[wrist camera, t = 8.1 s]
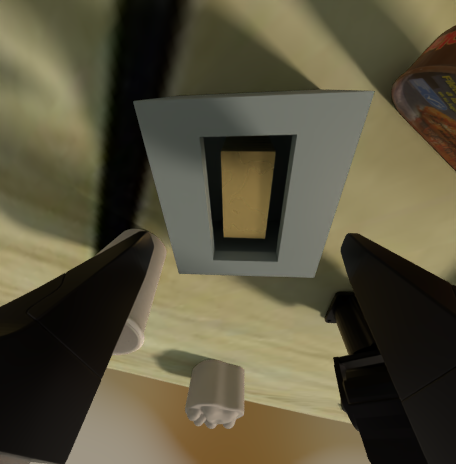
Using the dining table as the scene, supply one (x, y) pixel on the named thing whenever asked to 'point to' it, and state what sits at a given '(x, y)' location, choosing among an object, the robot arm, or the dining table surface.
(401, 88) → the tin
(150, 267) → the dixie cup
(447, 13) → the dining table surface
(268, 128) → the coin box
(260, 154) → the tan rectangular block
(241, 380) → the lumpy-topped squat cylinder
